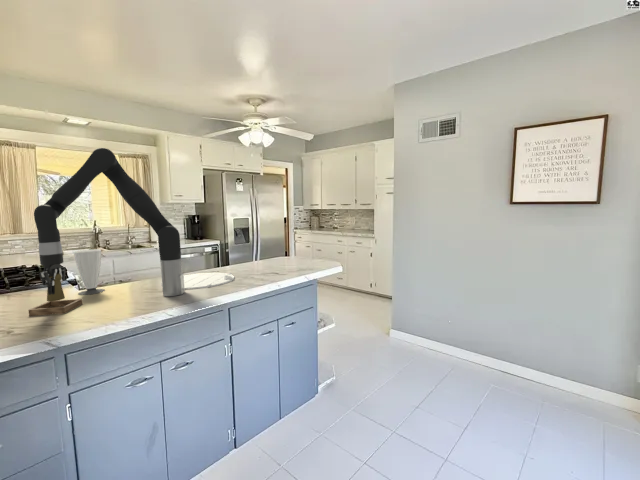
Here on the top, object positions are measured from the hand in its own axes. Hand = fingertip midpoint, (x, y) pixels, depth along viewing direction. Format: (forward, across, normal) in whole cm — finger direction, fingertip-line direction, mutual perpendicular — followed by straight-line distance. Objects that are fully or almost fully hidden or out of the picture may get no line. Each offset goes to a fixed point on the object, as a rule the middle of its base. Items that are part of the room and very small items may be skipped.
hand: (55, 292), depth 138 cm
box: (+7, 0, 0) cm, 7 cm away
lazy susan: (+8, +42, -50) cm, 66 cm away
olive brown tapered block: (+3, 0, 0) cm, 3 cm away
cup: (+8, +30, +1) cm, 31 cm away
